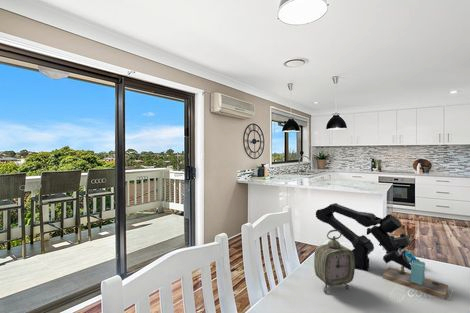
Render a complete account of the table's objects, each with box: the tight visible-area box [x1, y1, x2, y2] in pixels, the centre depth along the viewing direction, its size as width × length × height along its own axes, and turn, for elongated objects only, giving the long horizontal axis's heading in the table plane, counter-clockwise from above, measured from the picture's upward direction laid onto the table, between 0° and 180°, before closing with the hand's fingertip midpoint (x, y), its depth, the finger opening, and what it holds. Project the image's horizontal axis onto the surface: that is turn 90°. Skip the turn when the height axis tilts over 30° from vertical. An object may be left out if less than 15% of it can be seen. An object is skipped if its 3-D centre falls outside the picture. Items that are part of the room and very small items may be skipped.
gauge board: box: [382, 265, 449, 300], centre depth 110 cm, size 22×10×5 cm, turn 44°
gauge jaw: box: [410, 260, 426, 285], centre depth 108 cm, size 4×7×8 cm, turn 134°
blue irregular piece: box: [402, 249, 420, 264], centre depth 128 cm, size 11×6×10 cm
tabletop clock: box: [313, 229, 356, 294], centre depth 106 cm, size 14×9×25 cm, turn 105°
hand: (411, 269), depth 109 cm, fingers closed, pressing on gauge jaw
